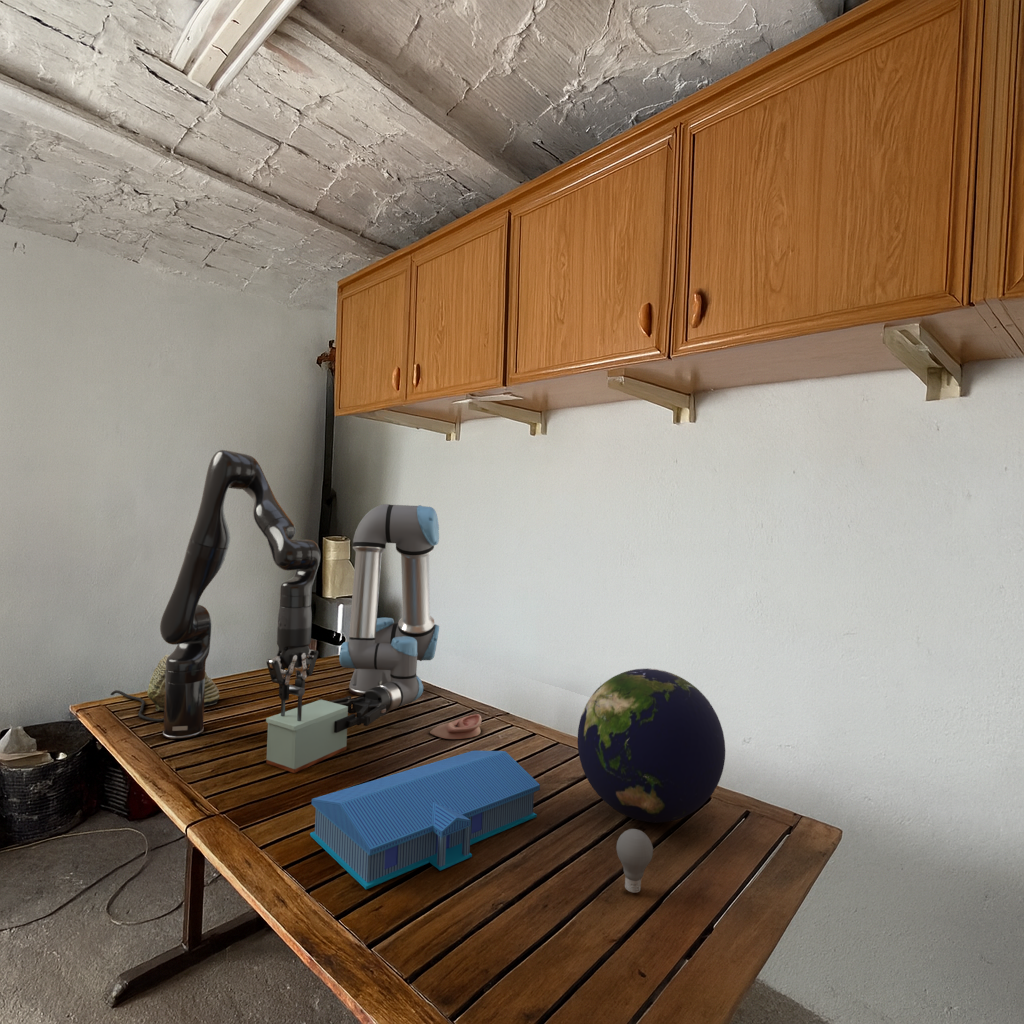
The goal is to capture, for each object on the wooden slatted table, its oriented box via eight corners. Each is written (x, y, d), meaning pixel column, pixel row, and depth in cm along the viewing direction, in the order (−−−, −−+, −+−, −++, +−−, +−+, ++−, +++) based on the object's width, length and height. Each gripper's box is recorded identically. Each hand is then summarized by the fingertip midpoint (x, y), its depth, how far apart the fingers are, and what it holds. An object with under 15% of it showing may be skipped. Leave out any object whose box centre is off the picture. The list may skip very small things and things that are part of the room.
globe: (555, 830, 124) (562, 678, 123) (594, 772, 152) (600, 647, 151) (715, 870, 113) (723, 702, 112) (726, 799, 140) (732, 664, 140)
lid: (294, 730, 144) (295, 692, 144) (266, 722, 148) (267, 685, 148) (347, 710, 159) (349, 675, 159) (320, 703, 163) (322, 669, 163)
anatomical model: (426, 721, 169) (440, 708, 180) (425, 736, 169) (439, 722, 181) (474, 727, 167) (485, 713, 178) (473, 742, 167) (484, 727, 178)
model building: (376, 899, 100) (378, 836, 100) (308, 834, 119) (310, 781, 118) (548, 822, 127) (550, 773, 127) (472, 779, 145) (474, 735, 145)
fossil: (144, 707, 182) (145, 655, 182) (212, 696, 194) (213, 647, 194) (151, 716, 175) (153, 662, 175) (221, 703, 188) (223, 653, 188)
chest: (294, 773, 144) (295, 730, 144) (266, 763, 149) (267, 721, 149) (346, 749, 159) (348, 710, 159) (319, 741, 164) (320, 703, 163)
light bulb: (610, 879, 108) (613, 822, 108) (644, 879, 109) (647, 822, 109) (619, 902, 102) (622, 840, 102) (655, 901, 103) (658, 840, 103)
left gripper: (281, 631, 140) (278, 708, 141) (328, 622, 153) (325, 693, 153) (258, 627, 144) (255, 702, 144) (306, 618, 156) (303, 687, 157)
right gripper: (411, 721, 172) (353, 747, 152) (350, 705, 182) (289, 728, 163) (412, 693, 171) (354, 716, 152) (351, 679, 182) (290, 699, 162)
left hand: (291, 697), depth 149 cm, fingers open, 3 cm apart
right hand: (320, 722), depth 157 cm, fingers closed on chest, 9 cm apart
